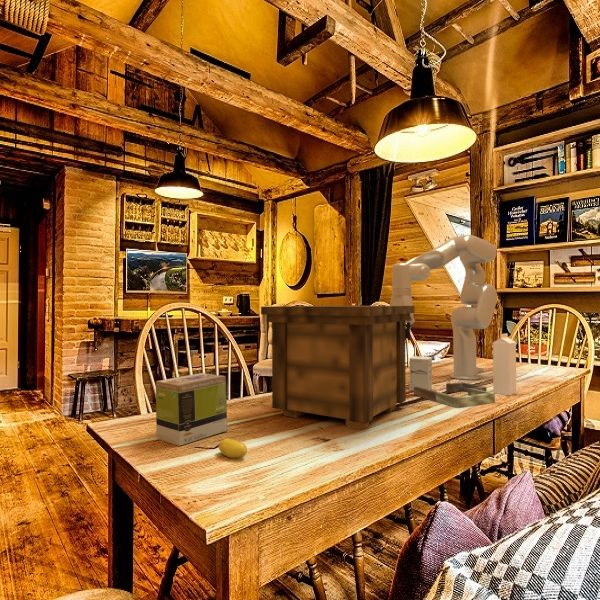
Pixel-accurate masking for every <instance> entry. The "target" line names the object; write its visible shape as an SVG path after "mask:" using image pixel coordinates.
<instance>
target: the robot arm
mask: <svg viewBox="0 0 600 600" xmlns="http://www.w3.org/2000/svg"><path fill="white" fill-rule="evenodd" d="M458 257H459V260H460V262H461V264H462V266H463V268H464V271H465V277H464V281H463V284H462V287H461V292H460V297H459V299H460V302H461V303H462V304H463V305H466V306H460V307H456V308H454V310H452V312H451V313H450V322H451V326H452V335H453V338H452V339H453V340H452V341H453V372H452V373H450V374H449V377H450V378H452V379H456V380H465V381H470V380H471V381H472V380H473V381H475V380H480V379H481V375H480V374H479V373H484V368H482V367H477V336H476V334H475V332H474V330H484V329H487V328H488V327H489V326H490V325H491V323H492V319H493V315H494V312H495V308H496V305H497V299H498V293H497V290H496V288H495V286H494V285H492V284H490V283H485V282H486V272H485V270H484V268H483V266H482V265H481V264H486V263H491V262H493V261H494V260H495V259H496V257H497V248H496V246H495V245H494V244H493V243H491V242H489V241H487V240H485V239H482V238H481V237H478V236H475V235H472V234H465V235H459V236H454V237H451V238H449V239H448V240H446V241H445V242H442V243H441V244H440V245H438V246H437V247H435V248H433V249H431V250H428V251H426V252H424V253H422V254H420V255H418V256H416V257H414V258H413V257H412V259H410V260H408V261H406V262H398V263H394V264H393V265H392V266H391V273H392V274H391V283H392V285H391V289H392V291H391V292H392V294H391V295H392V296H391V298H390V303H389V306H414V303H413V297H412V283H413V282H415V283H416V282H424V281H426V280H427V279H429V277H430V275H431V271H432V270H437V269H439V268H443V267H444V266H446V265H447V264H450V262H452V261H453V260H455V259H457V258H458ZM415 322H416V319H415V318H414V313H410V320H409V321H405V340H407V339H411V328H412V327H413V324H414V323H415Z"/></svg>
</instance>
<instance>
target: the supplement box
mask: <svg viewBox="0 0 600 600" xmlns="http://www.w3.org/2000/svg"><path fill="white" fill-rule="evenodd" d="M432 380H433V357H431V356H417V355H413V356H411V357H409V387H408V389H409V390H408V391H409V392H411V391H412V392H414V387H420V388H424V389H428V390H432V388H433V387H432V385H433V384H432V383H433V381H432Z"/></svg>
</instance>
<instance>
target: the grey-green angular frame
mask: <svg viewBox="0 0 600 600" xmlns="http://www.w3.org/2000/svg"><path fill="white" fill-rule="evenodd" d="M445 386H446V387H445V391H446V392H447V393H443V392H440V391H436V390H435V391H434V390H432V389H431V390H428V389H424V388H420V387H414V391H413V395H414V396H415V395H417V396H416V397H418V396H421V397H423V398H422V399H425V400H429V401H433V402H436V403H439V404H442V405H446V406H449V407H453V408H456V409H460V408H467V407H473V406H480V405H487V404H493V403H496V393H493V392H490V391H487V390H488V389H487V386H482V385H477V384H473V383H468V382H463V381H462V382H454V383H450V382H446V383H445ZM459 392H465V393H467V395H465V396H463V395H462V396H454V395H450V394H448V393H459ZM421 397H420V398H421Z"/></svg>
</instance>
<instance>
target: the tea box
mask: <svg viewBox="0 0 600 600" xmlns="http://www.w3.org/2000/svg"><path fill="white" fill-rule="evenodd" d="M155 405H156V406H155V411H156V412H155V416H156V417H155V418H156V419H155V421H156V424H155V425H156V438H157V439H159V440H161V441H163V442H166V443H169V444H172V445H175V446H179V447H180V446H183V445H186V444H190V443H193V442H195V441H200V440H202V439H205V438H208V437H212V436H215V435H217V434H220V433H224V432H227V431H228V414H227V413H228V411H227V410H228V408H227V406H228V402H227V379H226V375H220V374H212V373H205V372H199V373H194V374H188V375H183V376H182V375H181V376H176V377H172V378H166V379H162V380H156V381H155Z"/></svg>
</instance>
